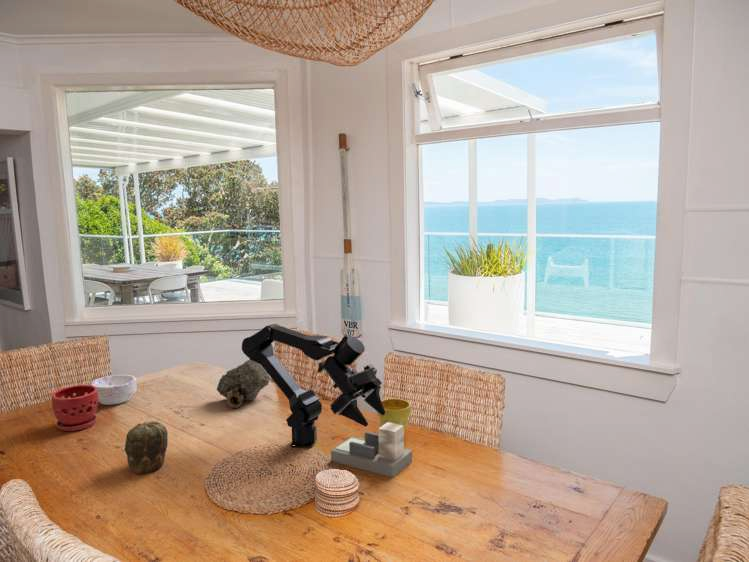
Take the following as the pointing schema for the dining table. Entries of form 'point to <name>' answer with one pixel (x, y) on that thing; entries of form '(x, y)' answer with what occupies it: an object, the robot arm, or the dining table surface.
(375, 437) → the tunnel deck
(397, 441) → the cream block
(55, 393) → the plant pot
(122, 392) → the white bowl
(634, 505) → the dining table surface
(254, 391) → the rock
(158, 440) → the olive lumpy chunk
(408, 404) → the plant pot
